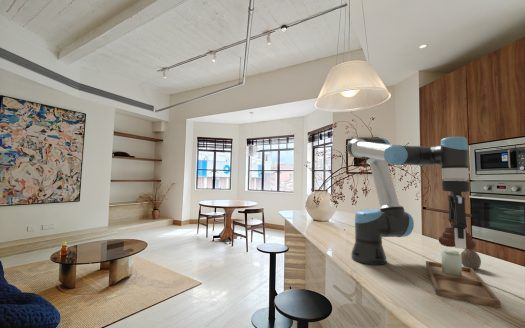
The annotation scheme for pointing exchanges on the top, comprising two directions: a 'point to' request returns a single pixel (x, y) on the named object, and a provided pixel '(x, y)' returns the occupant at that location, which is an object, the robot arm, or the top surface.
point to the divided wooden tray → (461, 285)
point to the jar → (451, 263)
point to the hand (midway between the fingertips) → (457, 244)
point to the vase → (470, 259)
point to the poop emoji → (449, 237)
